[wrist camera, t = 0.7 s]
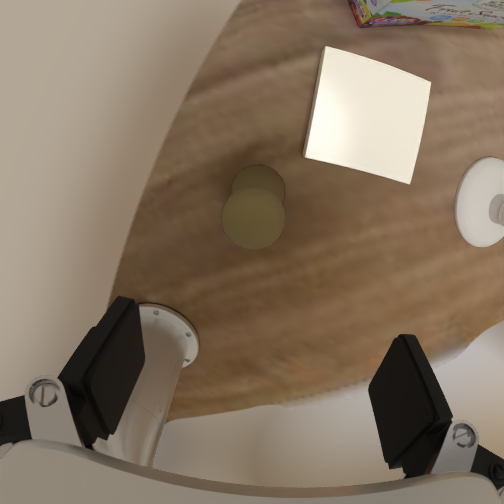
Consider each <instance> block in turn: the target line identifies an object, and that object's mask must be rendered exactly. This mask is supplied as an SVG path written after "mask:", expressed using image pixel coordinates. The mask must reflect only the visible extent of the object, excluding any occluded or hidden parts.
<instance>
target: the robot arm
mask: <svg viewBox="0 0 504 504" xmlns="http://www.w3.org/2000/svg"><path fill="white" fill-rule="evenodd" d="M198 350H199V339H198V336H197V333H196V331H195V329H194V328H193V326H192V325H191V324H190V323H189V322H188V321H187V320H186V319H185V318H184V317H183V316H182V315H180V314H179V313H177V312H175V311H174V310H172V309H170V308H167V307H165V306H161V305H157V304H149V303H147V304H139V305H138V304H135V301H134V299H131V298H126V297H121V296H118V297H117V298H116V299H115V301H114V302H113V303H112V305H111V306H110V308H109V309H108V310H107V312H106V313H105V314H104V316H103V317H102V319H101V320H100V321H99V323H98V324H97V326H96V327H95V326H94V327H92V328H91V329H90V330H89V332H88V333H87V335H86V336H85V337H84V339H83V340H82V342H81V343H80V345H79V346H78V347H77V349H76V350H75V352H74V353H73V355H72V356H71V358H70V359H69V361H68V362H67V364H66V365H65V367H64V368H63V370H62V372H61V373H60V374H59V376H58V378H55V377H53V376H49V375H44V376H39V377H36V378H34V379H33V380H31V381H30V383H29V384H28V385H27V387H26V389H25V395H23V396H20V397H16V398H12V399H8V400H5V401H1V402H0V504H504V459H502V458H500V457H499V456H497V455H495V454H493V453H492V452H490V451H489V450H487V449H485V448H484V447H482V446H480V445H479V444H478V442H479V436H478V432H477V430H476V428H475V427H474V426H473V425H472V424H471V423H469V422H467V421H465V420H457V421H454V422H453V423H452V420H451V419H452V417H453V415H452V413H451V410H450V408H449V406H448V403H447V401H446V399H445V396H444V394H443V392H442V390H441V387H440V385H439V383H438V381H437V379H436V376H435V374H434V372H433V370H432V368H431V366H430V364H429V362H428V360H427V358H426V356H425V354H424V352H423V350H422V348H421V346H420V344H419V342H418V340H417V338H416V336H415V335H411V334H400V335H399V336H398V337H397V338H395V339H394V340H393V342H392V344H391V346H390V348H389V350H388V352H387V354H386V356H385V357H384V359H383V361H382V363H381V365H380V367H379V368H378V370H377V372H376V374H375V375H374V377H373V379H372V381H371V382H370V384H369V388H368V392H369V396H370V400H371V404H372V408H373V412H374V416H375V420H376V424H377V429H378V433H379V438H380V442H381V447H382V451H383V456H384V460H385V462H386V463H388V465H389V469H395V468H401V467H402V468H403V473H402V475H401V477H400V479H399V480H395V481H388V482H381V483H373V484H364V485H354V486H342V487H323V488H322V487H318V488H287V487H264V486H252V485H242V484H241V485H240V484H233V483H224V482H217V481H210V480H205V479H199V478H193V477H188V476H183V475H178V474H174V473H169V472H165V471H161V470H157V469H153V463H154V458H155V454H156V451H157V447H158V443H159V440H160V437H161V433H162V430H163V427H164V424H165V420H166V417H167V414H168V411H169V407H170V404H171V401H172V398H173V395H174V391H175V388H176V385H177V382H178V379H179V376H180V373H181V369H182V368H183V367H186V366H188V365H189V364H191V363H192V362H193V361H194V360H195V358H196V356H197V354H198Z"/></svg>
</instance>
